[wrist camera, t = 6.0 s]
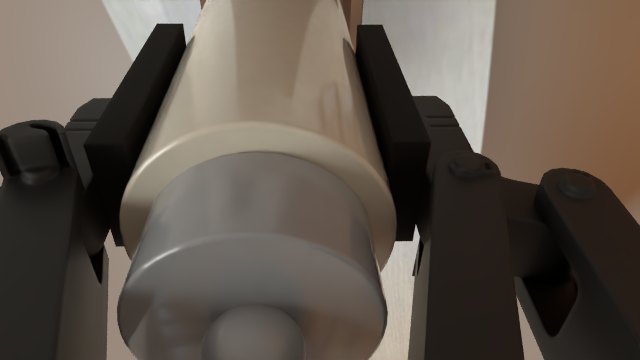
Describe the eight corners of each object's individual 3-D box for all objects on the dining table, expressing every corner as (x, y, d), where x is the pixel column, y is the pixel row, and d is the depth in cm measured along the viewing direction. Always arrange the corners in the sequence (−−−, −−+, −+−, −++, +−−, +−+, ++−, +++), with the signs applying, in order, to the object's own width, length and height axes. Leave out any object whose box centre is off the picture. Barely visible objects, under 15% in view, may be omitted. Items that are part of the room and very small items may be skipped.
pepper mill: (206, -66, 19) (-22, 285, 5) (341, -64, 19) (477, 274, 5) (219, 63, 22) (103, 491, 8) (335, 62, 22) (411, 478, 8)
